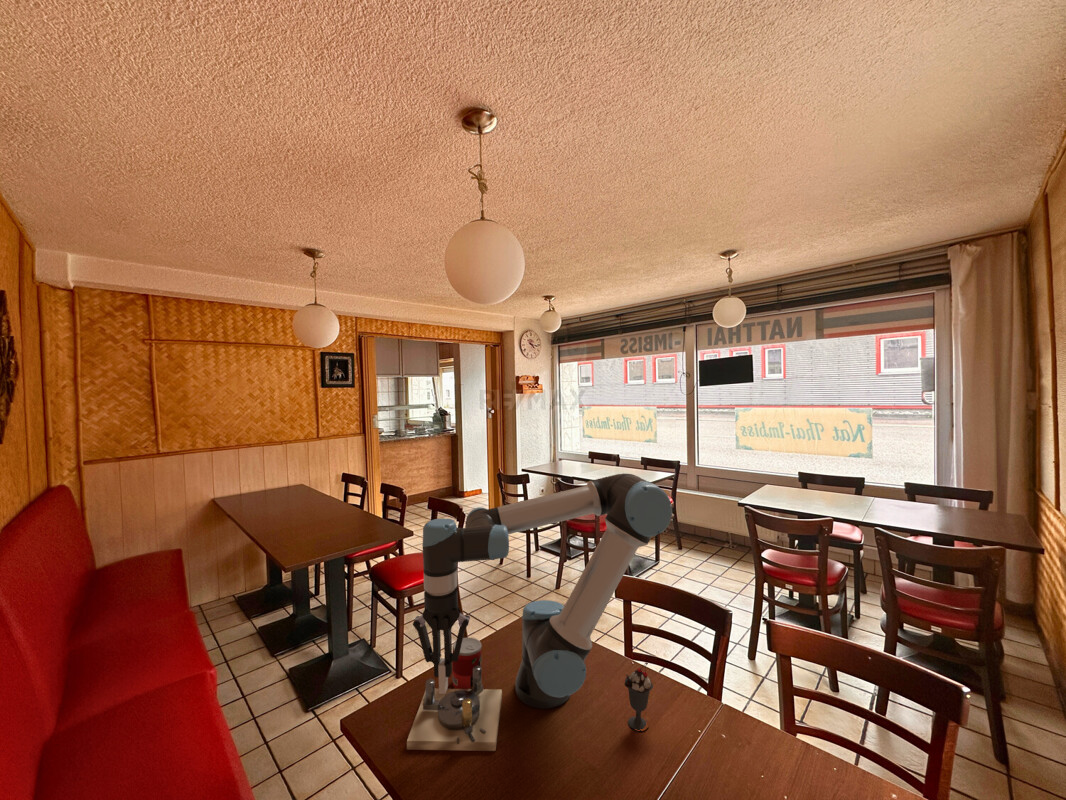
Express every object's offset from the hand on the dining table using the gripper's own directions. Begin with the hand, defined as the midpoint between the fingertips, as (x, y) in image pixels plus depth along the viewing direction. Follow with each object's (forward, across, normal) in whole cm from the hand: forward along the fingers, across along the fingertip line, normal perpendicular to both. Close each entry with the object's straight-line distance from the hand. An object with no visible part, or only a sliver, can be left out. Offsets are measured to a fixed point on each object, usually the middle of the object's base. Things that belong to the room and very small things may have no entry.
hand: (443, 689), depth 102 cm
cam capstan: (+10, -3, -4) cm, 11 cm away
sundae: (+14, -46, -6) cm, 48 cm away
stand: (+12, -2, -6) cm, 14 cm away
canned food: (+12, -2, -20) cm, 23 cm away
